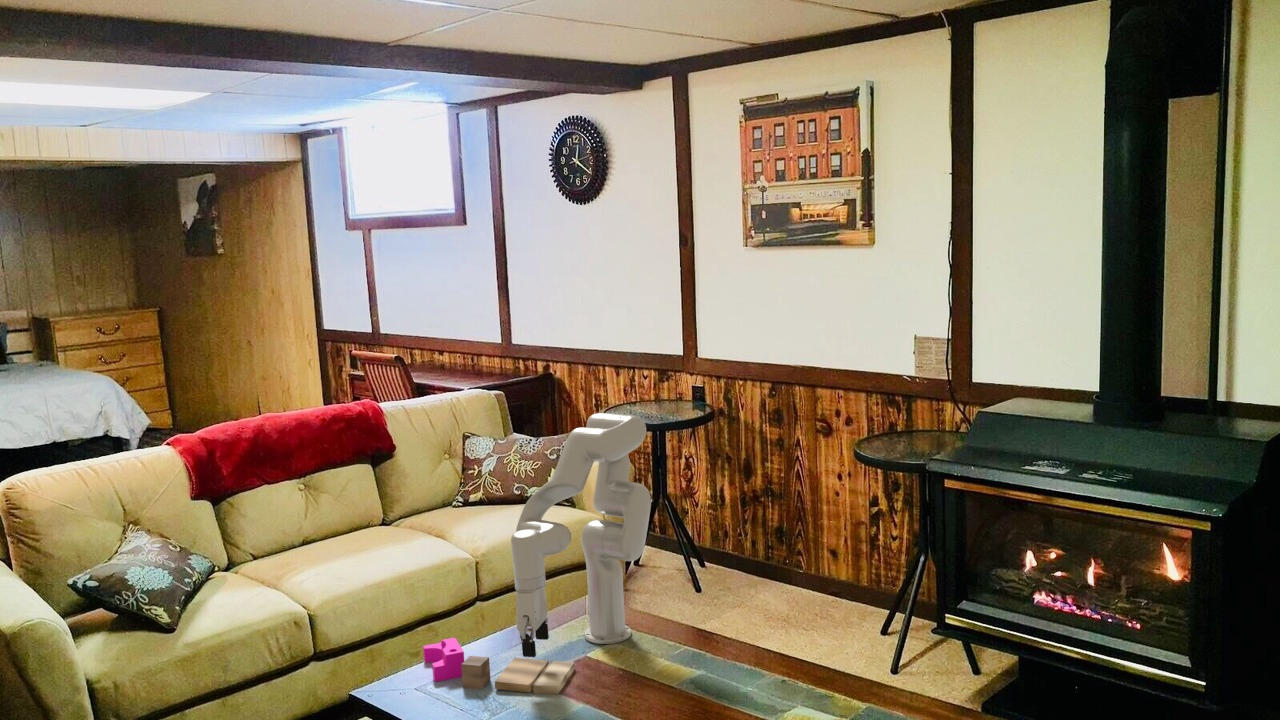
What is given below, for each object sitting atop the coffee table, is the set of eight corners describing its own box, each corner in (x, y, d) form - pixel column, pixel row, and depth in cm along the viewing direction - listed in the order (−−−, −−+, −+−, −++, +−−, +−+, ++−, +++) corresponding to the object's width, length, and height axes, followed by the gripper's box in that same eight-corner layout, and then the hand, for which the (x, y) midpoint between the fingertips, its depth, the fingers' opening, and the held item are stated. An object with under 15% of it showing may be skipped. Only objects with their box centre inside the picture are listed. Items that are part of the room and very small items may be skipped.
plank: (514, 664, 260) (514, 657, 259) (548, 668, 258) (548, 660, 257) (494, 688, 246) (494, 680, 246) (530, 692, 244) (530, 684, 244)
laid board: (551, 668, 257) (551, 660, 257) (574, 669, 256) (574, 661, 256) (533, 693, 244) (533, 684, 244) (557, 694, 242) (557, 686, 242)
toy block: (463, 651, 255) (433, 657, 252) (465, 675, 255) (435, 681, 253) (451, 631, 268) (422, 636, 266) (452, 654, 269) (424, 659, 266)
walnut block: (472, 678, 254) (470, 655, 253) (490, 680, 252) (489, 657, 251) (462, 687, 249) (461, 664, 248) (481, 689, 247) (480, 665, 247)
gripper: (527, 567, 258) (533, 632, 260) (502, 594, 241) (509, 663, 244) (555, 568, 256) (561, 633, 258) (533, 595, 239) (539, 664, 242)
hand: (536, 647), depth 251 cm, fingers open, 9 cm apart
